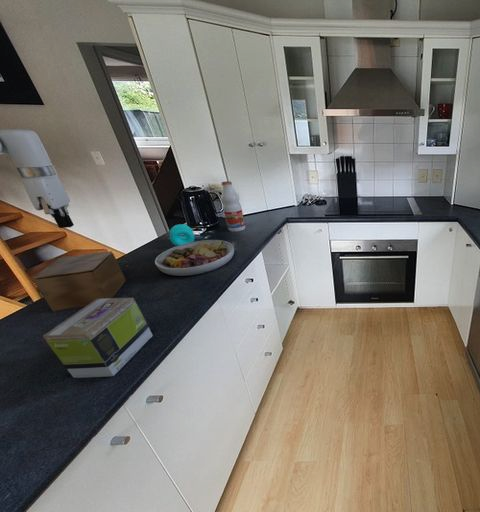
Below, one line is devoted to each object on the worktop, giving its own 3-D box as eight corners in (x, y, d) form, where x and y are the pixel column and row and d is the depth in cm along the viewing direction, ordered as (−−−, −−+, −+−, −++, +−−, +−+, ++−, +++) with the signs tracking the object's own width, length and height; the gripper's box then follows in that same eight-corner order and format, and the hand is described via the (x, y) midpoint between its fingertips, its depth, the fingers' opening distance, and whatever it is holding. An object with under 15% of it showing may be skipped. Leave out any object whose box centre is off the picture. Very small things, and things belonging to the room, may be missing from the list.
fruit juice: (245, 225, 169) (235, 180, 157) (246, 230, 162) (235, 183, 149) (228, 227, 166) (217, 181, 153) (228, 233, 158) (216, 184, 146)
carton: (52, 311, 92) (31, 278, 86) (77, 287, 105) (60, 257, 99) (109, 302, 97) (92, 269, 91) (125, 280, 110) (112, 251, 104)
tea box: (119, 337, 82) (97, 296, 75) (154, 336, 83) (135, 296, 76) (71, 379, 69) (39, 334, 62) (113, 377, 69) (87, 333, 63)
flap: (47, 267, 93) (47, 266, 93) (60, 258, 99) (60, 257, 99) (103, 260, 98) (102, 259, 98) (112, 252, 104) (111, 251, 104)
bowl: (155, 260, 126) (149, 244, 123) (226, 243, 144) (222, 230, 141) (163, 287, 106) (156, 270, 103) (244, 264, 124) (240, 249, 121)
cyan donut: (173, 249, 136) (167, 231, 132) (173, 243, 144) (166, 225, 139) (197, 245, 142) (191, 227, 137) (195, 239, 149) (190, 221, 145)
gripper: (37, 169, 91) (64, 221, 99) (3, 177, 78) (38, 236, 87) (67, 168, 93) (91, 219, 102) (39, 175, 81) (69, 233, 89)
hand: (66, 226), depth 94 cm, fingers closed
